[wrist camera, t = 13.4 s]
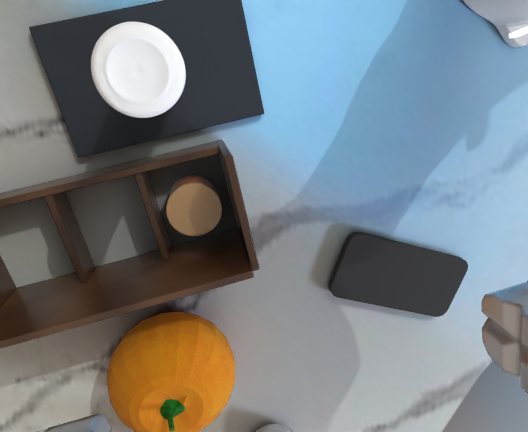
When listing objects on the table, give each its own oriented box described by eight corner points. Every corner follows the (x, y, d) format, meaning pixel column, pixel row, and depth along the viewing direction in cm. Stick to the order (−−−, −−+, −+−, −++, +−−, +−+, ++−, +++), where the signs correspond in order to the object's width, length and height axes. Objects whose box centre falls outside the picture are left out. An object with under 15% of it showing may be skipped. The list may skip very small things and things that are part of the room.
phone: (443, 318, 46) (327, 296, 41) (439, 315, 46) (324, 292, 42) (471, 261, 44) (353, 231, 39) (466, 258, 44) (349, 228, 40)
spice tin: (211, 168, 36) (214, 177, 33) (223, 215, 37) (227, 228, 34) (161, 181, 35) (158, 191, 32) (175, 227, 37) (175, 242, 34)
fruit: (250, 359, 43) (267, 435, 34) (155, 411, 43) (147, 502, 34) (195, 277, 39) (198, 339, 30) (89, 335, 39) (60, 416, 30)
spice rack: (222, 139, 35) (234, 158, 27) (245, 232, 38) (262, 275, 30) (-35, 201, 33) (-110, 243, 25) (12, 295, 36) (-39, 360, 28)
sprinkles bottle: (192, 58, 32) (198, 44, 20) (174, 112, 33) (169, 132, 21) (135, 33, 31) (103, 2, 18) (119, 91, 32) (77, 98, 19)
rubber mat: (237, -13, 32) (238, -15, 31) (262, 113, 35) (264, 113, 35) (31, 28, 30) (28, 27, 29) (80, 156, 33) (78, 157, 33)
